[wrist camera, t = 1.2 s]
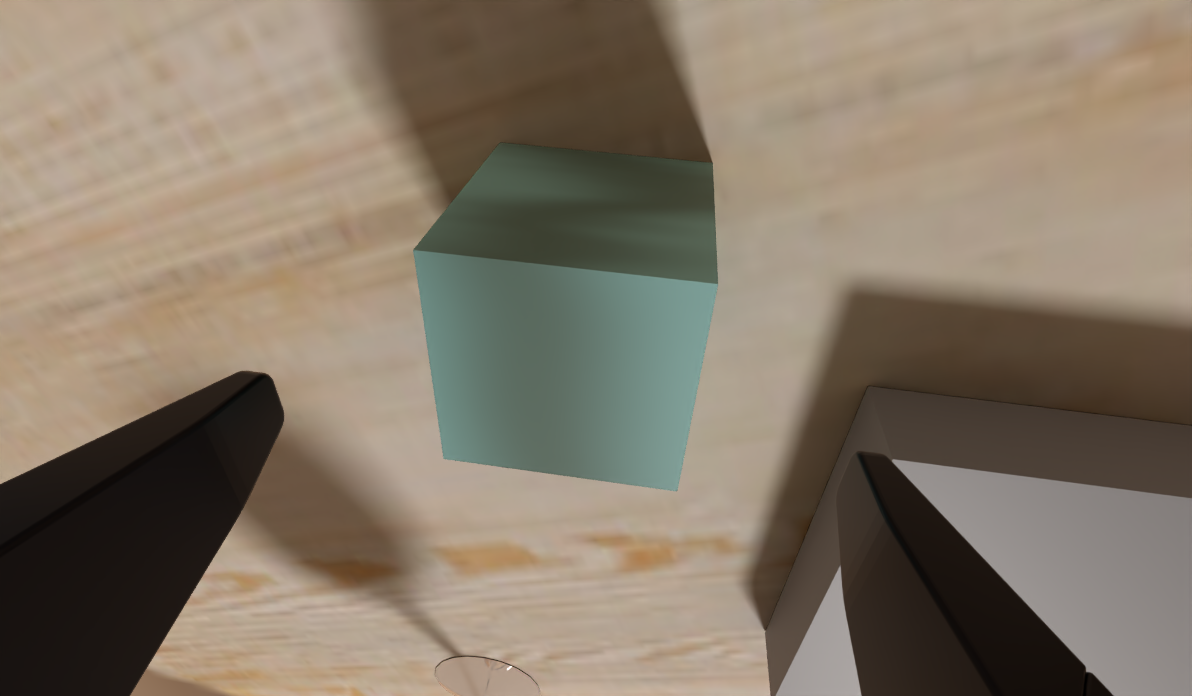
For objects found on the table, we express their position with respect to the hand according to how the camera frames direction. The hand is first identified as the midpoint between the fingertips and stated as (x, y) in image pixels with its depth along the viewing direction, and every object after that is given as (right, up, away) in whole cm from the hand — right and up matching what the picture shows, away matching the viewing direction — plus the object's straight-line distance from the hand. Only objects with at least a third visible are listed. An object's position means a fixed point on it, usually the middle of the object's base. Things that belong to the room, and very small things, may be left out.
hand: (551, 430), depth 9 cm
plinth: (+13, -5, +9) cm, 17 cm away
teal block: (+1, +4, +5) cm, 6 cm away
